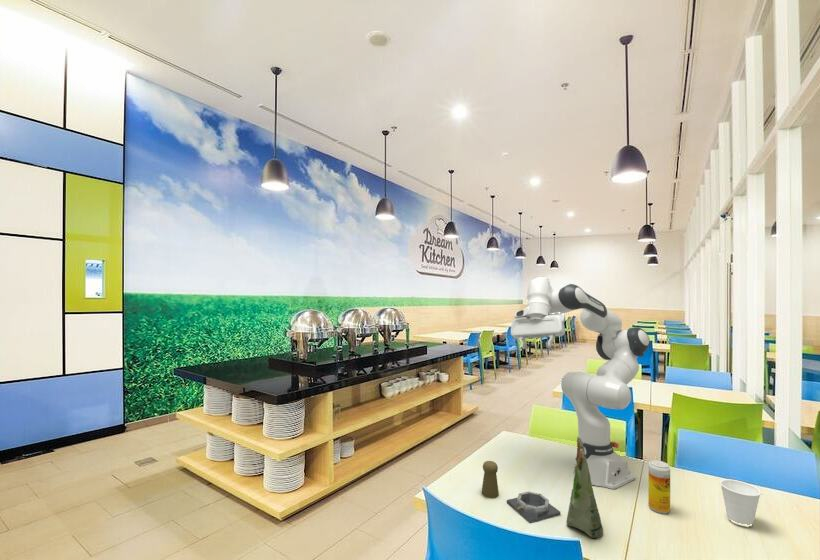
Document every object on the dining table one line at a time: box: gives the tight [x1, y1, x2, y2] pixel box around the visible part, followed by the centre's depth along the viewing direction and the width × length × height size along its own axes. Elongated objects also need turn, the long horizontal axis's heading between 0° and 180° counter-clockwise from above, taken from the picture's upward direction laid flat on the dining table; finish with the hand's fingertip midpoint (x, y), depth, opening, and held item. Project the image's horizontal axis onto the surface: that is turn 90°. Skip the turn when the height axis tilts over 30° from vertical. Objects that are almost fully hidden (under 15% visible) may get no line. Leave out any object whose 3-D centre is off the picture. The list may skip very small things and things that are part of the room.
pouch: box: [566, 438, 604, 539], centre depth 120 cm, size 11×12×25 cm
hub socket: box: [506, 491, 561, 524], centre depth 129 cm, size 12×12×3 cm
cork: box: [481, 460, 500, 499], centre depth 138 cm, size 6×6×11 cm
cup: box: [719, 478, 762, 525], centre depth 123 cm, size 10×10×11 cm
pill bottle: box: [647, 459, 671, 515], centre depth 130 cm, size 6×6×15 cm
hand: (536, 347), depth 147 cm, fingers open, 8 cm apart
